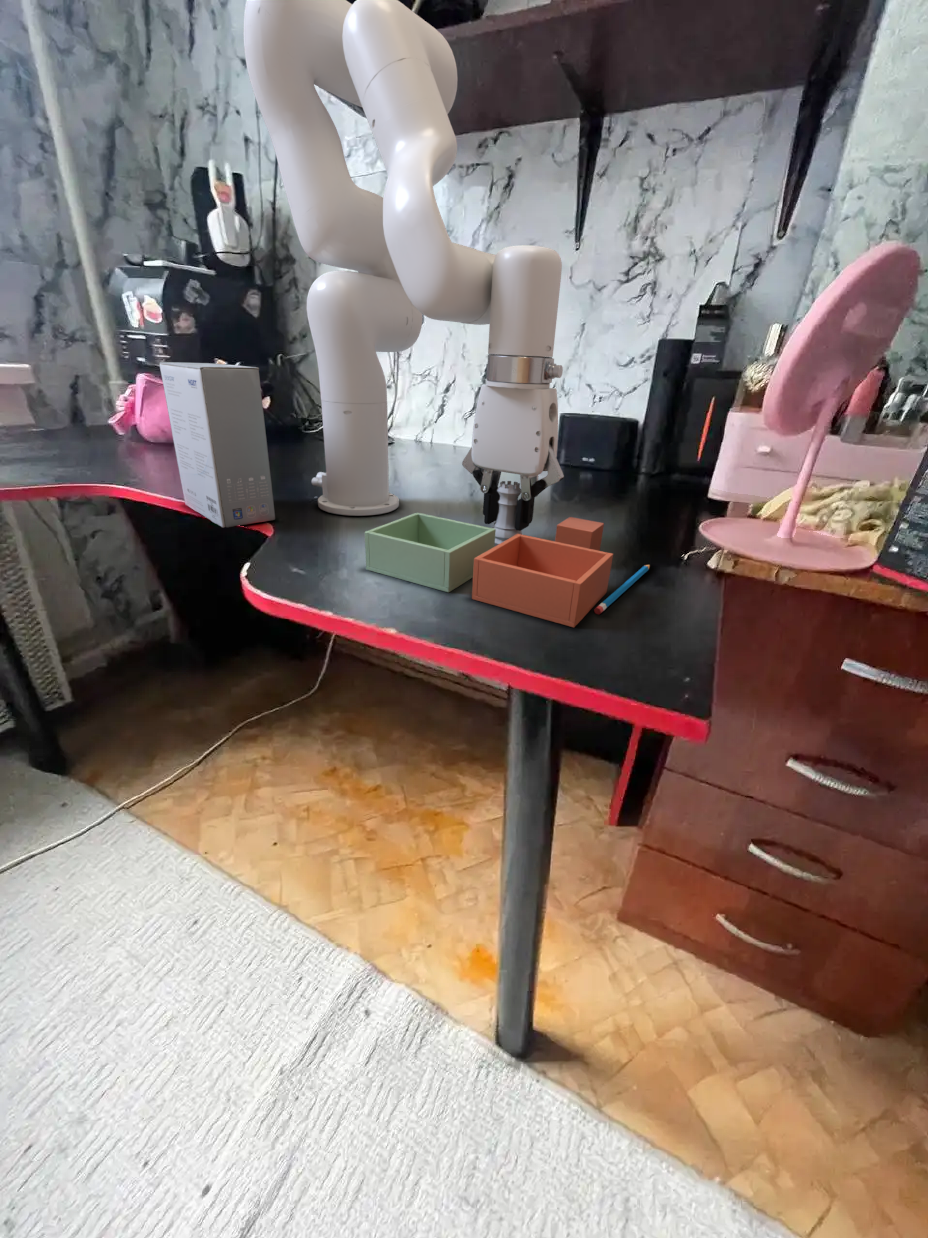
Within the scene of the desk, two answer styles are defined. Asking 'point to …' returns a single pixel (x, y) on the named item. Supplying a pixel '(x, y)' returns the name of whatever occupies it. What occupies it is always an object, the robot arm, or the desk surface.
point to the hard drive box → (220, 440)
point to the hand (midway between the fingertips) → (506, 523)
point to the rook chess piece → (506, 511)
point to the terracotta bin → (542, 578)
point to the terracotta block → (580, 533)
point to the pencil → (621, 590)
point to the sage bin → (427, 550)
